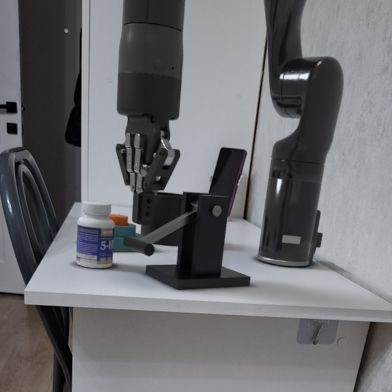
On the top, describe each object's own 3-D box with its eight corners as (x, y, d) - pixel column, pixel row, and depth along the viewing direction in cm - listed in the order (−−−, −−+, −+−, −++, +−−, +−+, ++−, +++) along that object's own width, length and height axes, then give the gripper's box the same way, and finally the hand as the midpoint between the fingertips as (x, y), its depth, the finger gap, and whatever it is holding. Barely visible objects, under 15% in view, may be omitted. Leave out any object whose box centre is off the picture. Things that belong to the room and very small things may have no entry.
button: (122, 224, 97) (122, 214, 97) (131, 227, 95) (131, 217, 94) (103, 224, 95) (103, 213, 95) (112, 227, 93) (112, 216, 92)
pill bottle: (105, 270, 77) (108, 206, 74) (70, 265, 78) (71, 201, 75) (117, 264, 82) (120, 203, 79) (84, 259, 83) (86, 199, 80)
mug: (165, 235, 116) (168, 191, 113) (196, 245, 107) (201, 198, 104) (125, 234, 111) (128, 188, 108) (155, 245, 101) (158, 195, 98)
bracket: (177, 289, 71) (186, 196, 67) (145, 273, 78) (151, 188, 74) (249, 285, 77) (261, 200, 73) (213, 271, 84) (222, 192, 80)
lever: (147, 261, 69) (141, 244, 67) (126, 252, 73) (120, 236, 72) (227, 214, 73) (222, 197, 72) (203, 208, 78) (198, 192, 76)
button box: (131, 242, 102) (132, 221, 101) (151, 251, 96) (153, 228, 94) (80, 242, 97) (81, 219, 95) (98, 251, 90) (99, 227, 89)
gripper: (208, 76, 61) (194, 232, 67) (151, 81, 71) (143, 216, 77) (148, 65, 57) (139, 232, 63) (97, 72, 67) (93, 216, 73)
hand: (141, 223), depth 70 cm, fingers closed
